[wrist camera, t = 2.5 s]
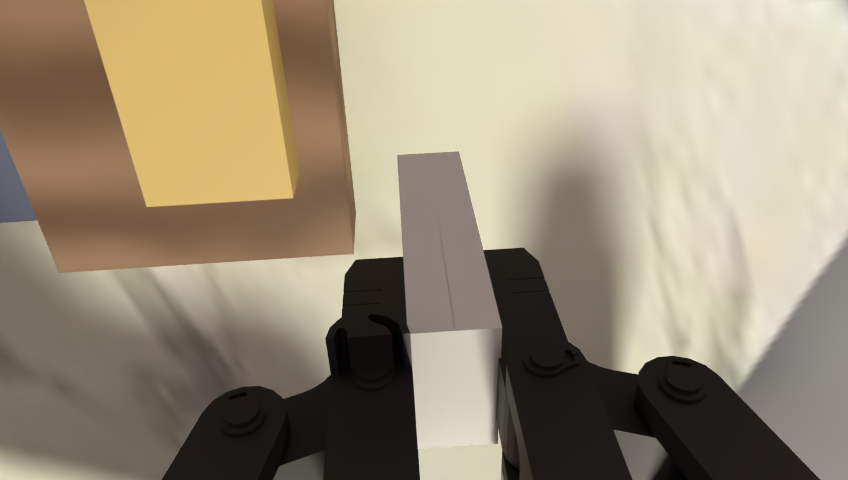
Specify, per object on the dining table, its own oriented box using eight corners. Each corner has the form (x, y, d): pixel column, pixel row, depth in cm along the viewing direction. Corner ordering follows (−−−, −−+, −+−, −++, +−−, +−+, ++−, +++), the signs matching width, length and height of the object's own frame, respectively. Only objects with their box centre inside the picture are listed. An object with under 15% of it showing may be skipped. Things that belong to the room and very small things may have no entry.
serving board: (355, 212, 35) (353, 253, 31) (90, 229, 34) (59, 272, 31) (313, -191, 25) (303, -195, 22) (-57, -176, 25) (-126, -178, 21)
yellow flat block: (299, 172, 29) (293, 198, 27) (163, 180, 29) (146, 207, 27) (265, -46, 24) (255, -36, 22) (101, -39, 24) (76, -27, 22)
